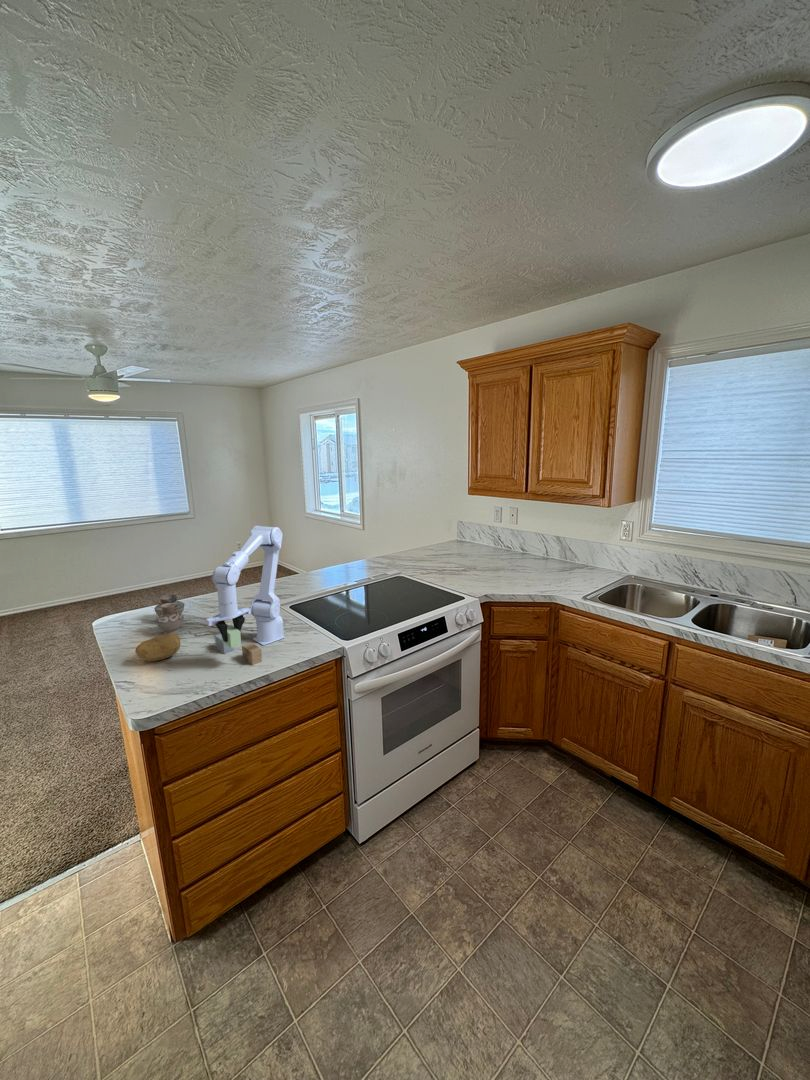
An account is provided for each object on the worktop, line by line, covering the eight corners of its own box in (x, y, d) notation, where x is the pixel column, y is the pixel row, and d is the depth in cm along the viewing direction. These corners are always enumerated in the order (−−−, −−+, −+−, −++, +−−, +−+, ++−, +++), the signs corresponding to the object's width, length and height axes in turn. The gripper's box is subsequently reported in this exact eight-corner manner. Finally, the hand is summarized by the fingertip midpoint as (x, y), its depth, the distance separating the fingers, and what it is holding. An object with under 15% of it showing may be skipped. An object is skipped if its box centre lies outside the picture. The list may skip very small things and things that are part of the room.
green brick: (222, 641, 150) (220, 628, 149) (232, 638, 152) (230, 624, 151) (231, 648, 145) (230, 634, 144) (241, 644, 148) (240, 631, 147)
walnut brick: (242, 658, 154) (241, 645, 153) (252, 655, 156) (251, 642, 155) (252, 665, 149) (251, 652, 148) (262, 662, 152) (261, 648, 151)
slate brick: (215, 647, 162) (214, 635, 161) (225, 644, 164) (224, 632, 163) (224, 654, 157) (223, 641, 156) (233, 650, 160) (232, 638, 159)
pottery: (155, 640, 167) (152, 611, 165) (156, 618, 189) (152, 591, 186) (188, 634, 173) (185, 606, 170) (185, 613, 194) (182, 587, 191)
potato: (134, 660, 152) (131, 638, 151) (178, 647, 161) (175, 627, 160) (140, 670, 145) (137, 648, 143) (185, 657, 154) (183, 636, 152)
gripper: (243, 593, 153) (246, 629, 156) (200, 604, 143) (205, 642, 146) (252, 598, 148) (255, 635, 152) (209, 609, 138) (213, 649, 141)
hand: (231, 639), depth 149 cm, fingers closed on green brick, 3 cm apart
